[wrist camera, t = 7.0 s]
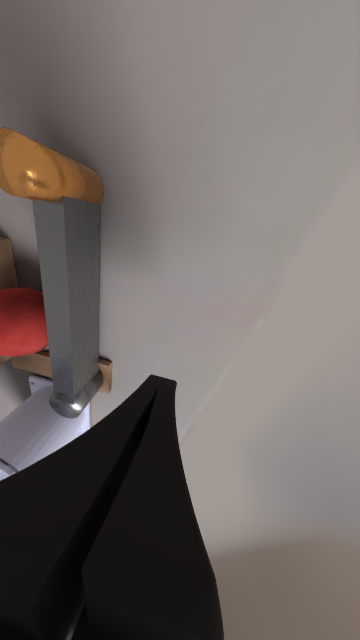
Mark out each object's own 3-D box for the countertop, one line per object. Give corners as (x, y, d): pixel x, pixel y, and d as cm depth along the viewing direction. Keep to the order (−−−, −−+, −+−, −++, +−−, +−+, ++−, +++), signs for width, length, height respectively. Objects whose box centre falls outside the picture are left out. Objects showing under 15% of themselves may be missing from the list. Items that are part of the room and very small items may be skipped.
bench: (111, 389, 24) (79, 434, 19) (11, 361, 25) (-46, 396, 20) (115, 261, 18) (69, 273, 12) (-18, 233, 19) (-112, 233, 14)
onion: (22, 311, 22) (-76, 349, 15) (36, 267, 20) (-72, 287, 12) (68, 342, 22) (-5, 393, 15) (87, 303, 20) (12, 342, 13)
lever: (103, 392, 23) (65, 443, 17) (77, 385, 23) (32, 432, 18) (109, 171, 14) (38, 133, 9) (67, 164, 15) (-27, 122, 9)
